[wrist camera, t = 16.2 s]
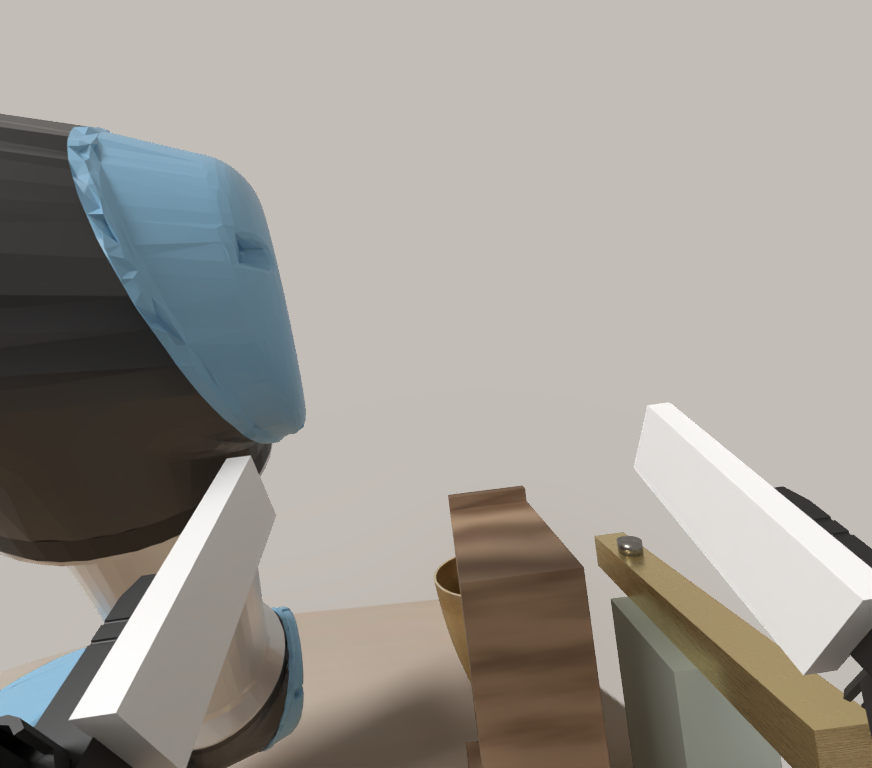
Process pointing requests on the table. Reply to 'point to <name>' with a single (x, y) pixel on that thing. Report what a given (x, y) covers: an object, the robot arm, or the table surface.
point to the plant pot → (452, 608)
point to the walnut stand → (526, 638)
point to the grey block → (678, 704)
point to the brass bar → (742, 663)
